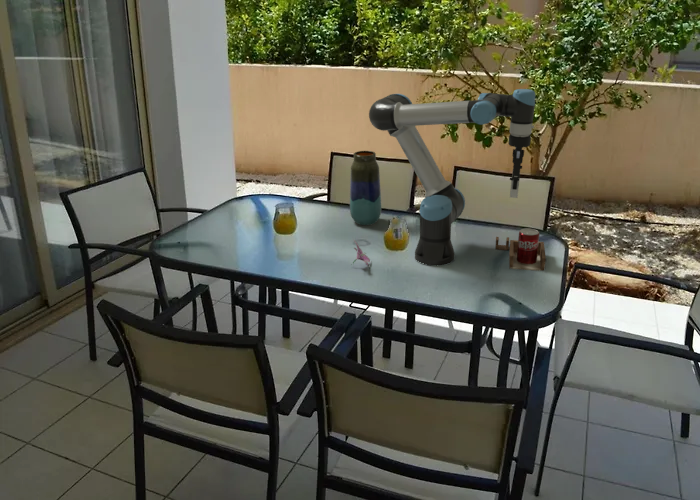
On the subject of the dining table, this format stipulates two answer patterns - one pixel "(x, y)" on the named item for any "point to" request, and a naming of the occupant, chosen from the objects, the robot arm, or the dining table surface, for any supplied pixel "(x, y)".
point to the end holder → (516, 265)
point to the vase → (365, 188)
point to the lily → (361, 255)
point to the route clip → (502, 247)
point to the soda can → (527, 246)
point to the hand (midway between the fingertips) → (514, 191)
